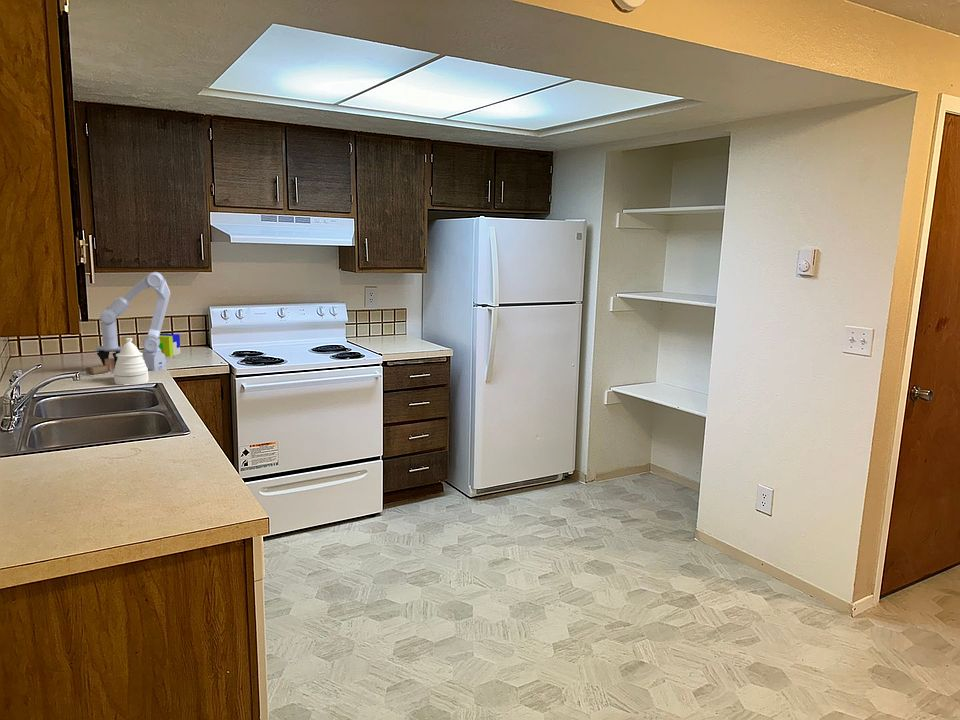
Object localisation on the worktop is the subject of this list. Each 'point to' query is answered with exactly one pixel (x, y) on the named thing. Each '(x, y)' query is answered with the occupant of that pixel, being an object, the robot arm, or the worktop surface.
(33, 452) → the worktop surface
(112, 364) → the top block
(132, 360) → the honey pot
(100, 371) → the base block
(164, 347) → the puzzle toy
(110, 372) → the build board
